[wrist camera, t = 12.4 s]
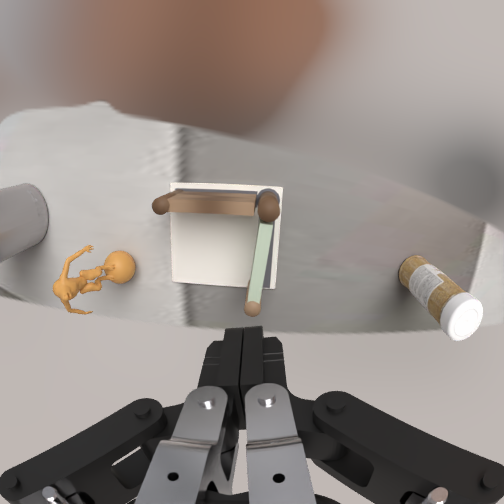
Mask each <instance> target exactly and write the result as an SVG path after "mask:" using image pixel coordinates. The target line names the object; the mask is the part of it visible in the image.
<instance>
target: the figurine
mask: <svg viewBox="0 0 504 504" xmlns="http://www.w3.org/2000/svg"><path fill="white" fill-rule="evenodd" d="M89 246H90V247H89ZM91 247H93V246H91V245H88V246H86V247H84V248H83V249H82V250H80V251H78V252H77V253H75V254H74V255H72V256H70V257H68V258H67V259H66V261H65V264H64V267H63V271H62V274H61V275H60V278H59V279H58V280H57V281H56V282H55V283H54V285H53V292H54V294H55V295H56V296H58V297H59V298H60V299H61V302H62V303H63V304H64V306H65V308H66V309H67V311H68V312H70V313H78V314H89V313H92V312H93V311H88V312H84V311H82V310H78V309H71V306H70V304H69V301H68V300H71V299H73V298H74V297H75V296H76V295H77V293H78V292H79V290H80V293H81V294H84V293H86V292H90V291H100V290H101V288H102V285H101V281H102V280H111V281H112V282H114V283H118V284H122V283H125V282H127V281H129V280H130V279H131V278H132V277H133V275H134V273H135V262H134V260H133V258H132V257H131V255H129V254H128V253H126V252H124V251H115V252H112V253H111V254H110V255H109V256H108V257H107V258H106V260H105V263H104V265H103V266H98V267H96V268H95V269H90V270H81V271H80V277H77V278H68V277H67V275H68V271H69V265H70V262H72V261H73V260H74V259H76V258H77V257H79V256H80V255H82V254H83V253H84V252H85V251H87V252H90V251H89V250H92V249H93V248H91ZM102 270H104V271H105V274H106V276H102V277H99V276H100V275H101V274H102ZM96 277H98V278H97V279H96V280H95V283H93V282H89V283H87V280H94V279H95V278H96Z"/></svg>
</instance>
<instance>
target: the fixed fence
mask: <svg viewBox="0 0 504 504" xmlns="http://www.w3.org/2000/svg"><path fill="white" fill-rule="evenodd" d="M255 207H256V194H241V193H219V192H189V191H183V190H181V189H178V190H175V191H173V192H170V193H168V194H166V195H163V196H161V197H159V198H156V199H155V200H154V201H153V203H152V208H153V211H154V212H155V213H156V214H159V215H162V214H165V213H166V212H182V213H207V214H227V215H246V216H254V212H255ZM257 212H258V216H259V217H260V219H262V220H263V221H265V222H273V221H275V220H276V219H277V218H278V217H279V215H280V207H279V203H278V200H277V197H276V195H275V194H274V193H273V192H271V191H265V192H263V193H262V194H261V195H260V197H259V203H258V210H257Z"/></svg>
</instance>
